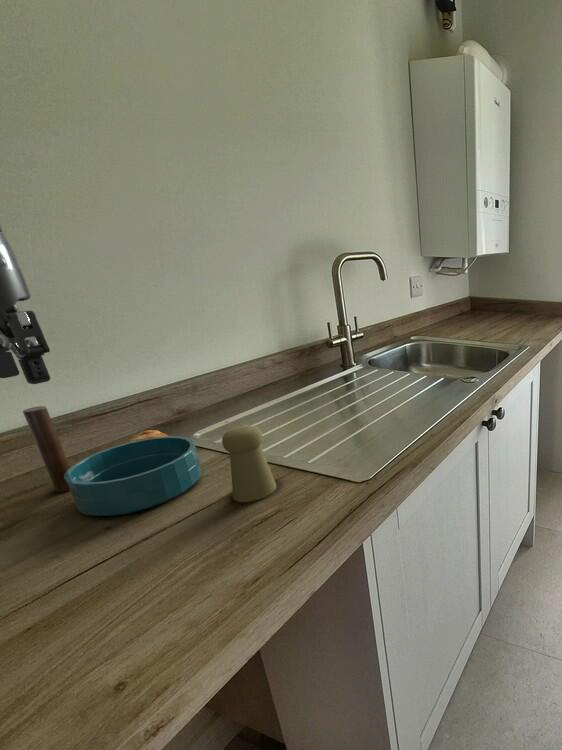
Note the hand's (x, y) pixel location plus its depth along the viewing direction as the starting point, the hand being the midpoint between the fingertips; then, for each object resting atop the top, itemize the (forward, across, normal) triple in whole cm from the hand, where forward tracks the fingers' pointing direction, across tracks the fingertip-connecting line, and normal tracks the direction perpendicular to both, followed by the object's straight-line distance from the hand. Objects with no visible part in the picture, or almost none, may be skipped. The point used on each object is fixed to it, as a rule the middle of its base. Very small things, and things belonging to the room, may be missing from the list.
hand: (24, 379), depth 61 cm
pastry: (+19, 0, +12) cm, 22 cm away
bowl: (+19, +13, +4) cm, 23 cm away
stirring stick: (+19, 0, 0) cm, 19 cm away
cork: (+19, +30, +10) cm, 37 cm away
